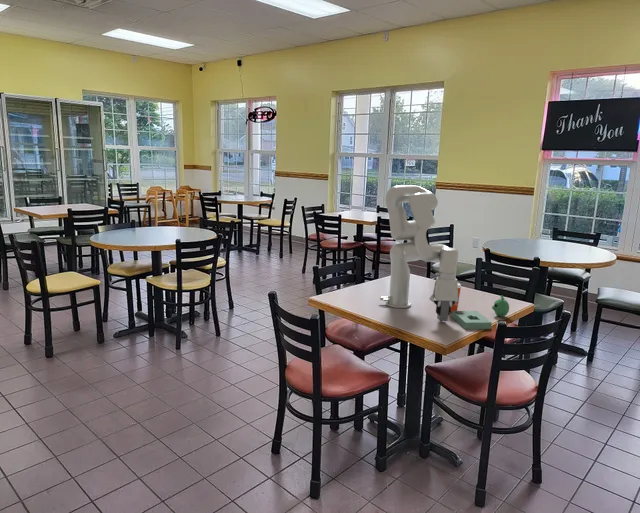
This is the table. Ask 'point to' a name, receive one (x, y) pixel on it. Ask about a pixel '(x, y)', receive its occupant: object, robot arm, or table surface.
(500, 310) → the alien toy
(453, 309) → the paper cup
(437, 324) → the table surface
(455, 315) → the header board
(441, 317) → the keyed plug
